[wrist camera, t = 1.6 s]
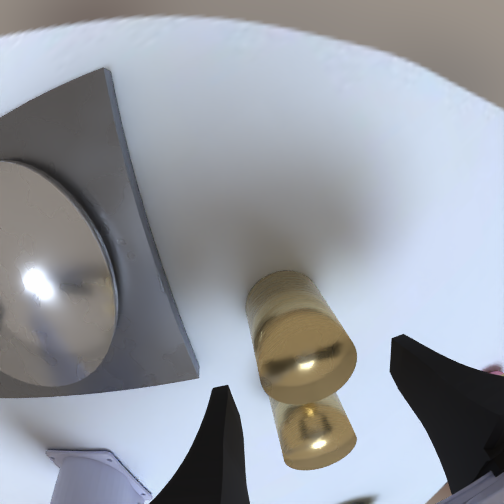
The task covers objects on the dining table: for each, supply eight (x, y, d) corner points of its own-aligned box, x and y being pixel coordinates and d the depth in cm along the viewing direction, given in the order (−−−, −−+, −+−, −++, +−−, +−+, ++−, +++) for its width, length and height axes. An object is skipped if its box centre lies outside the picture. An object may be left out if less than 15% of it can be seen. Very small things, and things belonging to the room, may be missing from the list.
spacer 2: (329, 397, 22) (355, 456, 17) (273, 412, 22) (289, 476, 16) (325, 355, 21) (357, 418, 15) (262, 372, 20) (278, 442, 15)
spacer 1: (322, 325, 20) (357, 388, 14) (254, 343, 20) (269, 413, 14) (313, 262, 18) (355, 316, 13) (238, 281, 18) (250, 345, 12)
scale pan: (156, 365, 17) (154, 374, 16) (-3, 383, 17) (-7, 389, 16) (69, 118, 12) (62, 117, 12) (-82, 208, 12) (-89, 211, 11)
